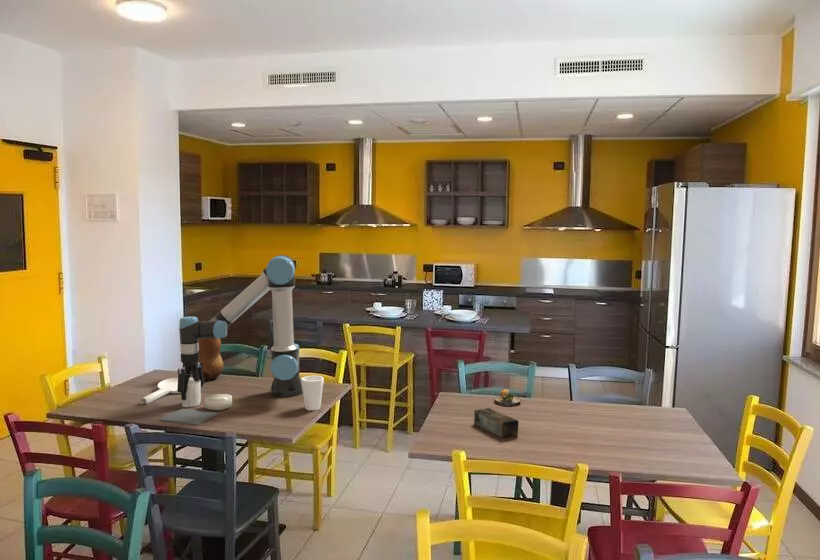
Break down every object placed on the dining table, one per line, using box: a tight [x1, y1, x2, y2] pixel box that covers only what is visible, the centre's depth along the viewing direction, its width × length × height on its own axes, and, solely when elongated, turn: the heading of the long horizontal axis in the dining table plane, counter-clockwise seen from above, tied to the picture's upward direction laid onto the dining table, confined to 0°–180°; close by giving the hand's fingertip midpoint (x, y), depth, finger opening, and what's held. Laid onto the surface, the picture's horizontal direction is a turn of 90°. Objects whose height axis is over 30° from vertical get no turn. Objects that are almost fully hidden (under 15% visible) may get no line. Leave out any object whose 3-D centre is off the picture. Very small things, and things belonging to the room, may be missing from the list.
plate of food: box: [493, 389, 521, 407], centre depth 263 cm, size 12×12×8 cm
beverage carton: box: [473, 407, 519, 439], centre depth 229 cm, size 8×19×6 cm, turn 29°
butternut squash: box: [197, 338, 225, 381], centre depth 302 cm, size 14×13×25 cm
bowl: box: [204, 393, 233, 411], centre depth 254 cm, size 11×11×5 cm
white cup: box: [187, 380, 202, 408], centre depth 258 cm, size 8×8×10 cm
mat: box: [159, 408, 220, 426], centre depth 242 cm, size 18×14×1 cm
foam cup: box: [300, 375, 325, 411], centre depth 254 cm, size 10×9×13 cm
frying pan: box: [139, 376, 194, 405], centre depth 276 cm, size 35×19×5 cm, turn 166°
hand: (191, 403), depth 259 cm, fingers closed on white cup, 8 cm apart
